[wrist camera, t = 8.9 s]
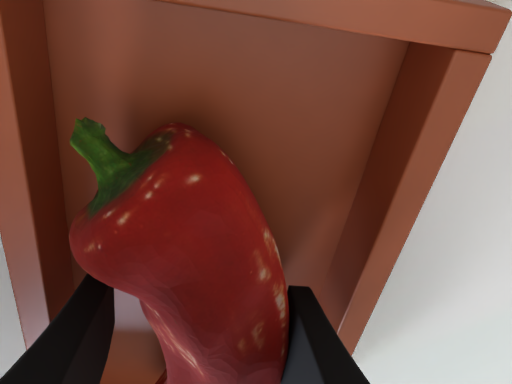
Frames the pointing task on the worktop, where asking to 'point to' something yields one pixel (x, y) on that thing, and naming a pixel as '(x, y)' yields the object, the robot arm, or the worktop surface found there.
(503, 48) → the worktop surface
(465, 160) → the worktop surface
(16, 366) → the robot arm
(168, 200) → the vegetable
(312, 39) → the tray
